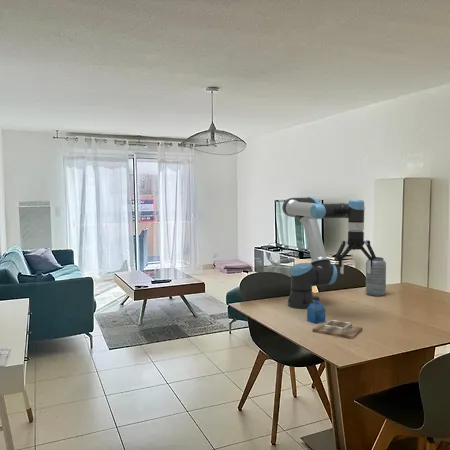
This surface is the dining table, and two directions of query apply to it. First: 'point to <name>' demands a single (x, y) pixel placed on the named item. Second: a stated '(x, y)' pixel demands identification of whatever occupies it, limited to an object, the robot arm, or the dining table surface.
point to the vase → (376, 277)
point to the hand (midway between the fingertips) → (355, 273)
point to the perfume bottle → (316, 311)
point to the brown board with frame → (338, 329)
